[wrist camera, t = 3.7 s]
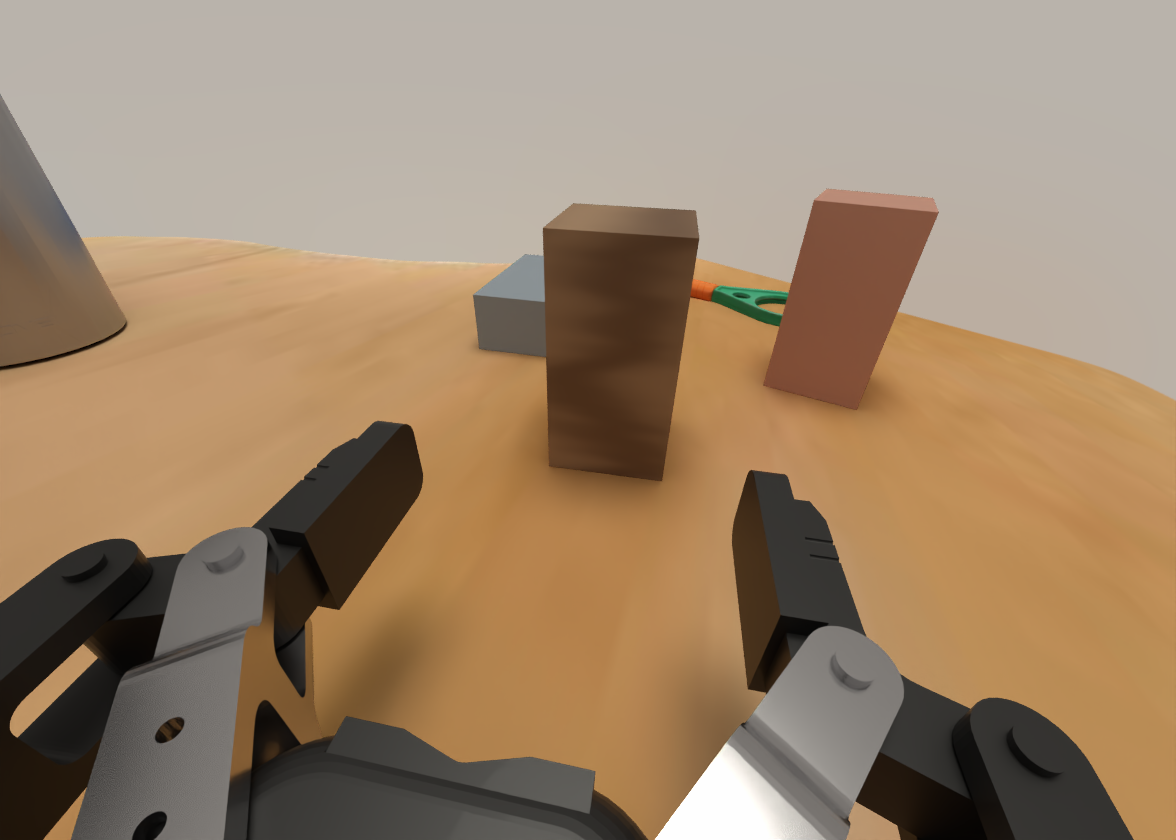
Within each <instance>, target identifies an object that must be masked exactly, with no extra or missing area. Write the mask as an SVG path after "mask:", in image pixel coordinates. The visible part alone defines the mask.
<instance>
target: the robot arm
mask: <svg viewBox="0 0 1176 840" xmlns="http://www.w3.org/2000/svg"><path fill="white" fill-rule="evenodd" d="M125 323H126V318H125V316H124V314H123V313H122V311H121V309H120V307H119V306H118V304H117V302H116V300H115V298H114V297H113V295H112V293H111V291H110V289H109V288H108V286H107V284H106V282H105V280H104V279H103V277H102V275H101V273H100V272H99V270H98V268H97V266H96V264H95V262H94V260H93V258H92V257H91V255H90V253H89V251H88V250H87V248H86V246H85V244H84V242H83V241H82V239H81V237H80V235H79V234H78V232H77V230H76V228H75V226H74V225H73V223H72V221H71V219H70V218H69V216H68V214H67V212H66V210H65V209H64V207H63V205H62V203H61V202H60V200H59V198H58V196H57V194H56V193H55V191H54V189H53V187H52V185H51V184H50V182H49V180H48V178H47V177H46V175H45V173H44V171H43V169H42V168H41V166H40V164H39V162H38V161H37V159H36V157H35V155H34V154H33V152H32V150H31V148H30V146H29V145H28V143H27V141H26V139H25V137H24V136H23V134H22V132H21V130H20V129H19V127H18V125H17V123H16V121H15V120H14V118H13V116H12V114H11V113H10V111H9V109H8V107H7V105H6V104H5V102H4V100H3V98H2V96H1V95H0V366H6V365H12V364H18V363H24V362H28V361H33V360H37V359H42V358H47V357H50V356H54V355H58V354H62V353H65V352H69V351H72V350H75V349H78V348H81V347H84V346H87V345H90V344H92V343H95V342H97V341H100V340H102V339H104V338H106V337H108V336H110V335H112V334H114V333H116V332H117V331H118V330H120V329H121V328H122V327H123V326H124V325H125ZM422 483H423V472H422V467H421V463H420V458H419V454H418V450H417V445H416V441H415V436H414V432H413V430H412V428H411V426H409V425H407V424H400V423H392V422H384V421H376V422H374V423H373V424H372V425H371V426H370V427H369V428H368V429H367V430H366V431H365V432H364V433H363V434H362V435H361V436H360V437H359V438H358V439H355V438H353V439H351V440H350V441H348V442H346V443H344V444H342V445H341V446H339V447H337V448H335V449H333V450H332V451H331V452H330V453H329V454H328V455H327V456H326V457H325V458H324V459H322V460H321V461H320V462H319V463H318V464H317V468H313V469H312V470H311V471H310V472H309V473H308V474H307V475H306V476H305V477H304V480H301V481H300V482H298V483H297V484H296V485H295V486H294V487H293V488H292V489H291V490H290V491H289V492H288V493H287V494H286V495H285V496H284V497H283V498H282V499H281V500H280V501H279V502H278V503H277V504H275V505H274V506H273V507H272V508H271V509H270V510H269V511H268V512H267V513H266V514H265V515H264V516H263V517H262V518H261V519H260V520H259V521H258V522H257V523H256V524H255V525H254V526H252V527H251V528H250V527H241V528H234V529H229V530H226V531H223V532H220V533H217V534H215V535H213V536H211V537H209V538H207V539H205V540H203V541H202V542H200V543H199V544H197V545H196V546H195V547H193V548H192V549H191V550H190V551H189V552H188V553H187V554H178V555H169V556H160V557H150V558H146V557H145V555H144V554H143V553H142V552H141V550H140V549H139V548H138V546H137V545H136V544H135V543H134V542H132V541H130V540H127V539H110V540H104V541H100V542H96V543H93V544H90V545H87V546H84V547H82V548H80V549H77V550H75V551H73V552H71V553H69V554H67V555H66V556H64V557H62V558H61V559H59V560H58V561H56V562H55V563H53V564H52V565H51V566H49V567H48V568H47V569H45V570H44V571H43V572H41V573H40V574H39V575H37V576H36V577H35V578H33V579H32V580H31V581H29V582H28V583H27V584H25V585H24V586H23V587H22V588H20V589H19V590H18V591H16V592H15V593H14V594H12V595H11V596H10V597H8V598H7V599H6V600H4V601H3V602H2V603H0V840H43V839H44V838H45V836H46V835H47V834H48V833H49V832H50V830H51V829H52V828H53V827H54V826H55V824H56V823H57V822H58V821H59V820H60V818H61V817H62V816H63V815H64V814H65V812H66V811H67V810H68V809H69V808H70V806H71V805H72V804H73V803H74V802H75V800H76V799H77V798H78V797H79V796H80V794H81V793H82V792H83V791H84V790H85V788H86V787H87V789H86V792H85V795H84V799H83V802H82V805H81V808H80V812H79V815H78V818H77V821H76V825H75V828H74V831H73V834H72V838H71V840H648V839H647V838H646V836H645V835H644V834H643V833H642V831H641V830H640V829H639V827H638V826H637V825H636V823H635V822H634V821H633V820H632V819H631V818H630V817H629V816H628V815H627V814H626V813H625V812H624V811H623V810H622V809H621V808H620V807H618V806H617V805H616V804H615V803H613V802H612V801H611V800H610V799H608V798H607V797H605V796H604V795H602V794H600V793H599V792H597V791H595V790H594V781H595V771H592V770H588V769H583V768H579V767H574V766H570V765H565V764H561V763H556V762H552V761H547V760H542V759H538V758H533V757H524V758H513V759H502V760H491V761H479V762H468V763H461V762H457V761H455V760H453V759H451V758H450V757H448V756H446V755H445V754H443V753H442V752H440V751H438V750H437V749H435V748H434V747H432V746H430V745H429V744H427V743H426V742H424V741H422V740H421V739H419V738H418V737H416V736H414V735H413V734H411V733H410V732H408V731H406V730H405V729H402V728H397V727H393V726H388V725H384V724H379V723H375V722H370V721H366V720H361V719H357V718H352V717H348V716H346V717H345V719H344V720H343V722H342V724H341V726H340V728H339V729H338V731H337V733H336V735H335V736H330V737H325V738H322V735H321V730H320V727H319V723H318V720H317V717H316V712H315V705H314V674H313V635H312V622H311V620H310V618H309V617H310V616H311V614H312V613H313V612H314V610H315V609H316V608H317V606H321V607H326V608H331V609H337V610H340V608H341V607H342V605H343V604H344V603H345V601H346V600H347V598H348V597H349V595H350V594H351V592H352V591H353V590H354V588H355V587H356V585H357V584H358V582H359V581H360V580H361V578H362V577H363V575H364V574H365V572H366V571H367V569H368V568H369V567H370V565H371V564H372V562H373V561H374V559H375V558H376V557H377V555H378V554H379V552H380V551H381V549H382V548H383V546H384V545H385V544H386V542H387V541H388V539H389V538H390V536H391V535H392V533H393V532H394V531H395V529H396V528H397V526H398V525H399V523H400V522H401V521H402V519H403V518H404V516H405V515H406V513H407V512H408V510H409V509H410V508H411V506H412V505H413V503H414V502H415V500H416V499H417V497H418V496H419V494H420V491H421V488H422ZM732 548H733V557H734V566H735V576H736V585H737V594H738V603H739V613H740V622H741V631H742V640H743V650H744V659H745V668H746V677H747V687H748V689H750V690H755V691H760V692H766V696H765V697H764V699H763V700H762V701H761V703H760V704H759V706H758V707H757V708H756V710H755V711H754V712H753V714H752V715H751V716H750V718H749V719H748V720H747V721H746V722H745V723H742V724H741V725H740V726H739V727H738V728H737V729H736V731H735V732H734V733H733V734H732V736H731V737H730V738H729V740H728V741H727V742H726V744H725V745H724V747H723V748H722V749H721V751H720V752H719V753H718V755H717V756H716V757H715V759H714V760H713V762H712V763H711V764H710V766H709V767H708V768H707V770H706V771H705V772H704V774H703V775H702V777H701V778H700V779H699V781H698V782H697V783H696V785H695V786H694V787H693V789H692V790H691V792H690V793H689V794H688V796H687V797H686V798H685V800H684V801H683V802H682V804H681V805H680V807H679V808H678V809H677V811H676V812H675V813H674V815H673V816H672V817H671V819H670V820H669V822H668V823H667V824H666V826H665V827H664V828H663V830H662V831H661V832H660V834H659V835H658V837H657V838H656V839H655V840H846V838H847V835H848V832H849V829H850V822H849V821H848V818H849V814H850V812H851V809H852V807H853V805H854V802H855V801H856V802H857V803H859V804H861V805H863V806H864V807H866V808H868V809H870V810H871V811H873V812H875V813H877V814H878V815H880V816H882V817H884V818H885V819H887V820H889V821H890V822H892V823H894V824H896V825H897V826H898V830H899V834H900V838H901V840H1134V839H1133V838H1132V836H1131V834H1130V832H1129V831H1128V829H1127V827H1126V825H1125V824H1124V822H1123V820H1122V818H1121V816H1120V815H1119V813H1118V811H1117V809H1116V808H1115V806H1114V804H1113V802H1112V801H1111V799H1110V797H1109V795H1108V794H1107V792H1106V790H1105V788H1104V787H1103V785H1102V783H1101V781H1100V780H1099V778H1098V776H1097V774H1096V773H1095V771H1094V769H1093V767H1092V766H1091V764H1090V763H1089V761H1088V759H1087V758H1086V756H1085V755H1084V754H1083V753H1082V751H1081V750H1080V749H1079V748H1078V746H1077V745H1076V744H1075V743H1074V742H1073V741H1072V740H1071V739H1070V738H1069V737H1068V736H1067V735H1066V734H1065V733H1064V732H1063V731H1062V730H1061V729H1059V728H1058V727H1057V726H1056V725H1055V724H1053V723H1052V722H1051V721H1049V720H1048V719H1047V718H1045V717H1044V716H1042V715H1040V714H1039V713H1037V712H1036V711H1034V710H1032V709H1030V708H1028V707H1026V706H1024V705H1022V704H1019V703H1017V702H1014V701H1011V700H1007V699H1002V698H987V699H983V700H981V701H979V702H978V703H976V704H975V705H974V706H973V707H972V708H971V709H970V708H968V707H965V706H963V705H961V704H959V703H957V702H955V701H952V700H950V699H948V698H946V697H944V696H942V695H939V694H937V693H935V692H933V691H931V690H929V689H926V688H924V687H922V686H920V685H918V684H916V683H914V682H912V681H910V680H909V679H907V678H906V677H904V676H902V675H901V674H900V673H899V671H898V669H897V667H896V666H895V664H894V663H893V661H892V660H891V658H890V657H889V656H888V655H887V654H886V653H885V651H883V650H882V649H881V648H880V647H879V646H878V645H877V644H876V643H874V642H873V641H872V640H870V639H869V638H867V637H866V634H865V632H864V630H863V627H862V624H861V621H860V618H859V615H858V612H857V609H856V606H855V603H854V601H853V598H852V595H851V592H850V589H849V586H848V583H847V580H846V577H845V574H844V571H843V569H842V566H841V563H839V557H838V554H837V551H836V548H835V545H833V540H832V537H831V534H830V531H829V528H828V525H827V522H826V520H825V519H824V518H823V516H822V515H821V514H820V513H819V512H818V511H817V509H816V508H815V507H814V506H813V505H812V504H811V502H810V501H803V500H795V499H794V497H793V494H792V490H791V487H790V483H789V480H788V477H787V476H786V475H785V474H777V473H770V472H762V471H754V470H750V471H749V473H748V475H747V478H746V481H745V484H744V488H743V491H742V495H741V498H740V502H739V505H738V509H737V512H736V515H735V519H734V524H733V532H732ZM82 644H84V645H85V646H86V647H87V648H88V649H89V650H90V651H92V652H93V653H94V654H95V655H96V656H97V657H98V659H97V660H96V661H95V662H94V663H93V664H92V665H91V666H90V667H88V668H87V669H86V670H85V671H84V672H83V673H82V674H81V675H80V676H79V677H78V678H77V679H76V680H75V681H74V682H73V683H72V684H71V685H70V686H69V687H68V688H67V689H66V690H65V691H64V692H63V693H62V694H61V695H60V696H59V697H58V698H57V699H56V700H55V701H54V702H53V703H52V704H51V705H50V706H49V707H48V708H47V709H46V710H45V711H44V712H43V713H42V714H41V715H40V716H39V717H38V718H37V719H36V720H35V721H34V722H33V723H32V724H31V725H30V726H29V727H28V728H27V729H26V730H25V731H24V732H23V733H22V734H21V735H20V736H19V737H18V738H17V737H15V736H14V735H13V734H12V733H11V731H10V720H11V717H12V715H13V713H14V711H15V710H16V708H17V707H18V705H19V704H20V703H21V702H22V701H23V700H24V699H25V697H27V696H28V695H29V694H30V693H31V692H32V691H33V690H34V689H35V688H36V687H37V686H38V685H39V684H40V683H41V682H43V681H44V680H45V679H46V678H47V677H48V676H49V675H50V674H51V673H52V672H53V671H54V670H55V669H56V668H57V667H59V666H60V665H61V664H62V663H63V662H64V661H65V660H66V659H67V658H68V657H69V656H70V655H71V654H72V653H73V652H75V651H76V650H77V649H78V648H79V647H80V646H81V645H82Z"/></svg>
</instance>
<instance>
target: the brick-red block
mask: <svg viewBox="0 0 1176 840" xmlns="http://www.w3.org/2000/svg"><path fill="white" fill-rule="evenodd" d="M938 213H939V212H938V209H937V207H936V205H935V202H934V199H933V198H926V197H915V196H903V195H892V194H880V193H870V192H858V191H846V190H835V189H826V190H825V191H824V192H823V193H822V194H820V195H819V196H818V197H817V198H816V199H815V200H814V202H813V206H812V210H811V214H810V217H809V221H808V224H807V228H806V232H805V235H804V239H803V243H802V246H801V250H800V254H799V258H798V261H797V265H796V269H795V272H794V276H793V279H792V283H791V287H790V290H789V294H788V298H787V301H786V305H785V309H784V312H783V316H782V320H781V323H780V327H779V331H778V334H777V338H776V342H775V345H774V349H773V353H772V356H771V360H770V364H769V367H768V371H767V375H766V378H765V382H764V386H767V387H771V388H775V389H779V390H783V391H787V392H790V393H794V394H798V395H802V396H806V397H810V398H813V399H817V400H821V401H825V402H829V403H833V404H836V405H840V406H844V407H848V408H852V409H856V410H857V408H858V405H859V403H860V400H861V398H862V396H863V393H864V391H865V388H866V386H867V384H868V381H869V379H870V376H871V374H872V372H873V369H874V367H875V364H876V362H877V359H878V357H879V355H880V352H881V350H882V347H883V345H884V343H885V340H886V338H887V335H888V333H889V331H890V328H891V326H892V323H893V321H894V319H895V316H896V314H897V311H898V309H899V307H900V304H901V302H902V299H903V297H904V295H905V292H906V289H907V287H908V285H909V282H910V280H911V278H912V275H913V273H914V271H915V268H916V266H917V263H918V261H919V258H920V256H921V254H922V251H923V249H924V246H925V244H926V241H927V239H928V237H929V234H930V232H931V230H932V227H933V225H934V222H935V220H936V218H937V215H938Z"/></svg>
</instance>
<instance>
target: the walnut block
mask: <svg viewBox="0 0 1176 840" xmlns="http://www.w3.org/2000/svg"><path fill="white" fill-rule="evenodd" d="M698 242H699V233H698V225H697V217H696V211H694V210H693V211H692V210H677V209H659V208H642V207H625V206H607V205H592V204H591V205H590V204H574V203H573V204H572V205H571V206H570V207H569V208H567V209H566V210H565V211H563V212H562V213H561V214H560V215H558V216H557V217H556V218H555V219H553V220H552V221H551V222H550V223H548V224H547V225H546V226H545V227H544V228H543V250H544V288H545V327H546V365H547V403H548V442H549V466H552V467H560V468H567V469H575V470H582V471H590V472H597V473H605V474H612V475H619V476H627V477H634V478H642V479H649V480H657V481H662V477H663V470H664V464H665V457H666V451H667V444H668V438H669V431H670V425H671V418H672V412H673V405H674V399H675V392H676V386H677V379H678V373H679V366H680V360H681V353H682V347H683V340H684V333H685V327H686V320H687V314H688V307H689V301H690V294H691V288H692V281H693V275H694V268H695V262H696V255H697V249H698Z"/></svg>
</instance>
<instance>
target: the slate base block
mask: <svg viewBox="0 0 1176 840" xmlns="http://www.w3.org/2000/svg"><path fill="white" fill-rule="evenodd" d="M473 298H474V307H475V315H476V324H477V332H478V341H479V349H484V350H492V351H501V352H509V353H517V354H525V355H534V356H542V357H546V327H545V288H544V256H539V255H527V254H525V255H524V256H522V257H521V258H520V259H519V260H517V261H516V262H515V263H513V264H512V265H511V266H510V267H508V268H507V269H506V270H504V271H503V272H502V273H501V274H499V275H498V276H497V277H495V278H494V279H493V280H491V281H490V282H489V283H488V284H486V285H485V286H484V287H482V288H481V289H480V290H479V291H477V292H476V293H475V294H473Z"/></svg>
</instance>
